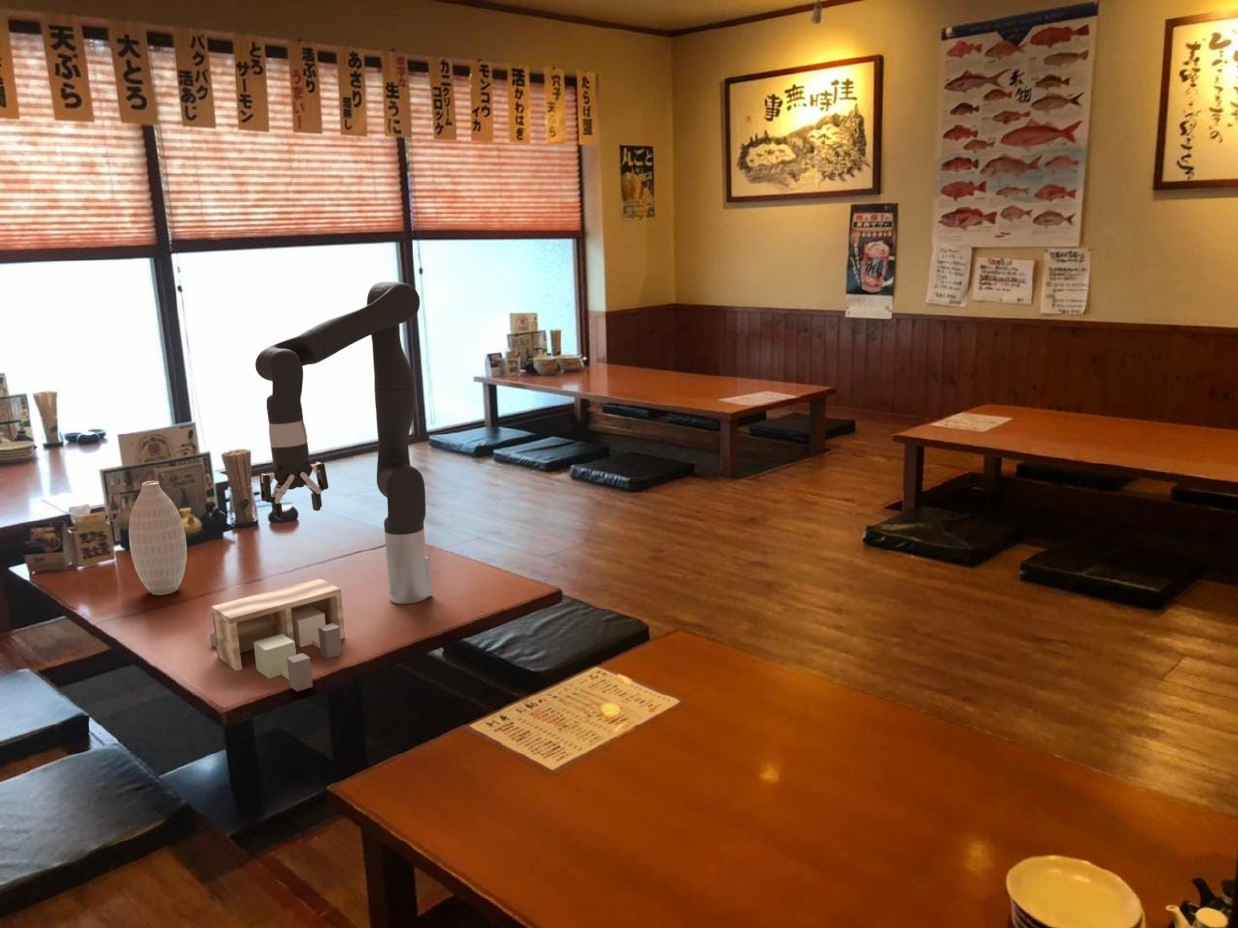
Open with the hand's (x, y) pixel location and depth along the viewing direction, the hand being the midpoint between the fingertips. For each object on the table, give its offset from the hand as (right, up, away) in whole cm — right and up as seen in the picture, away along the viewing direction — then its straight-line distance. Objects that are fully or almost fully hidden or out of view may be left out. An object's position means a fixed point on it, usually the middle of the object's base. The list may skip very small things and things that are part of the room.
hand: (298, 514), depth 214 cm
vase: (-45, -21, +35) cm, 61 cm away
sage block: (+4, -31, -18) cm, 36 cm away
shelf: (-2, -28, -3) cm, 28 cm away
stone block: (-14, -28, +3) cm, 31 cm away
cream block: (+5, -28, -3) cm, 29 cm away
